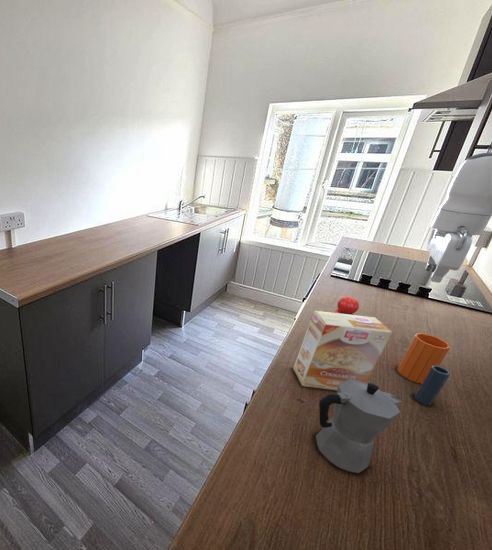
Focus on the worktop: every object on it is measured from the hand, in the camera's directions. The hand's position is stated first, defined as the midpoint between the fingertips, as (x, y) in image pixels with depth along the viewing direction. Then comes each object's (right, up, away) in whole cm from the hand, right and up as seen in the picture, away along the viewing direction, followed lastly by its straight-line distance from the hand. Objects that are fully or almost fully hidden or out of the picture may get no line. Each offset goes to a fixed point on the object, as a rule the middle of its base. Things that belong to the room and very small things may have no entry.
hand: (431, 275), depth 77 cm
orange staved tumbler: (+2, -28, +8) cm, 30 cm away
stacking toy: (-15, -24, +17) cm, 33 cm away
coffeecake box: (-25, -29, +4) cm, 39 cm away
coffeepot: (-36, -37, -16) cm, 54 cm away
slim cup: (-4, -32, -1) cm, 32 cm away
